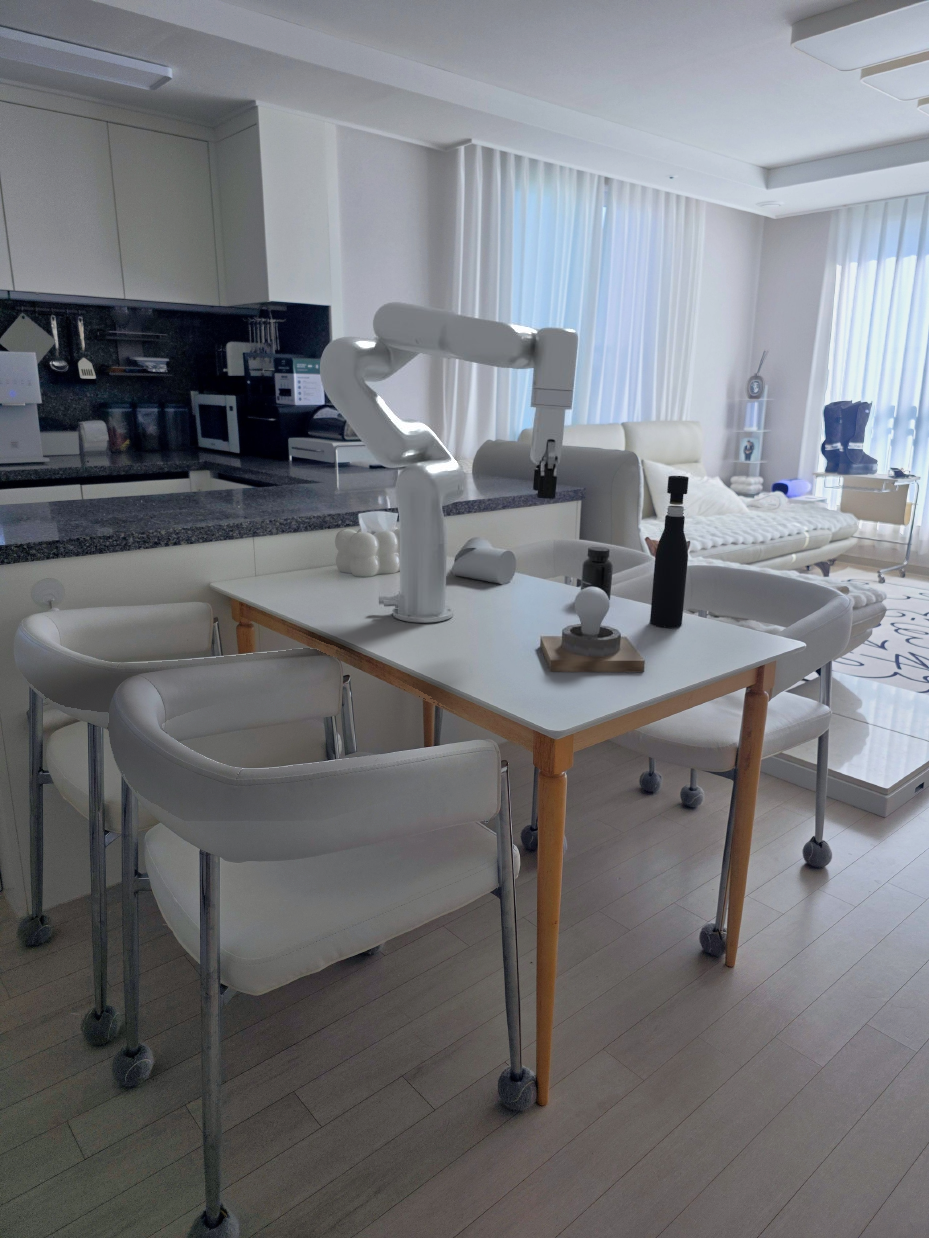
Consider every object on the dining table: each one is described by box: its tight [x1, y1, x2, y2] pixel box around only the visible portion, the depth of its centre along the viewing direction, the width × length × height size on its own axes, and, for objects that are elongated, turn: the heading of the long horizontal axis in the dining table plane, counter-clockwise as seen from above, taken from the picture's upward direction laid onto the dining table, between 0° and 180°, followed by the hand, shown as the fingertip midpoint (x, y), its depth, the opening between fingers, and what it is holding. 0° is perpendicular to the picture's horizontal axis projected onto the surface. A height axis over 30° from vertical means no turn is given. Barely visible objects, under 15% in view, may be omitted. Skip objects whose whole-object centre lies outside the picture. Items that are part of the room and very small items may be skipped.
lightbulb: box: [574, 587, 611, 638], centre depth 145 cm, size 6×6×11 cm
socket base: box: [539, 623, 646, 673], centre depth 146 cm, size 16×14×5 cm
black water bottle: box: [649, 475, 690, 629], centre depth 165 cm, size 6×6×30 cm
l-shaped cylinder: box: [451, 536, 517, 585], centre depth 209 cm, size 18×11×20 cm
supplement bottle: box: [580, 546, 614, 601], centre depth 186 cm, size 7×7×12 cm
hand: (543, 494), depth 154 cm, fingers open, 9 cm apart
